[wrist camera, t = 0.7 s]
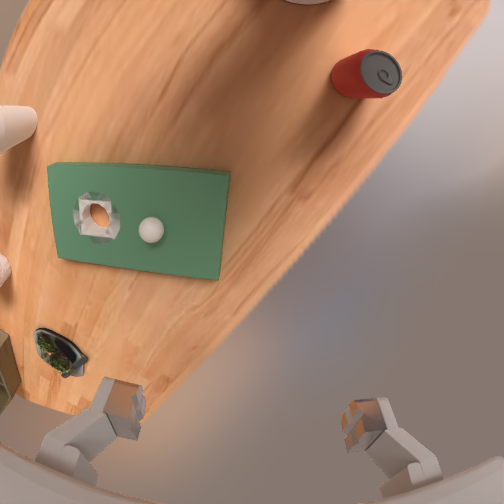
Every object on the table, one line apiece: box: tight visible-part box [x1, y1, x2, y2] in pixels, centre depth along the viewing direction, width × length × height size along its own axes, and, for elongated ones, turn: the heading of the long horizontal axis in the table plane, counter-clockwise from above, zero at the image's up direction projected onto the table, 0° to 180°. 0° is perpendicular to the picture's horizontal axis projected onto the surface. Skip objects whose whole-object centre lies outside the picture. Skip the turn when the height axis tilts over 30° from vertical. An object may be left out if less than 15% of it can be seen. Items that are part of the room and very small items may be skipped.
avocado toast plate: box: [34, 328, 87, 378], centre depth 65 cm, size 19×18×5 cm
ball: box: [139, 217, 164, 243], centre depth 44 cm, size 4×4×4 cm
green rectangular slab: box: [47, 162, 230, 280], centre depth 47 cm, size 18×32×3 cm, turn 82°
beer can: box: [331, 49, 402, 98], centre depth 32 cm, size 7×7×12 cm
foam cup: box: [0, 105, 37, 154], centre depth 33 cm, size 10×9×13 cm
